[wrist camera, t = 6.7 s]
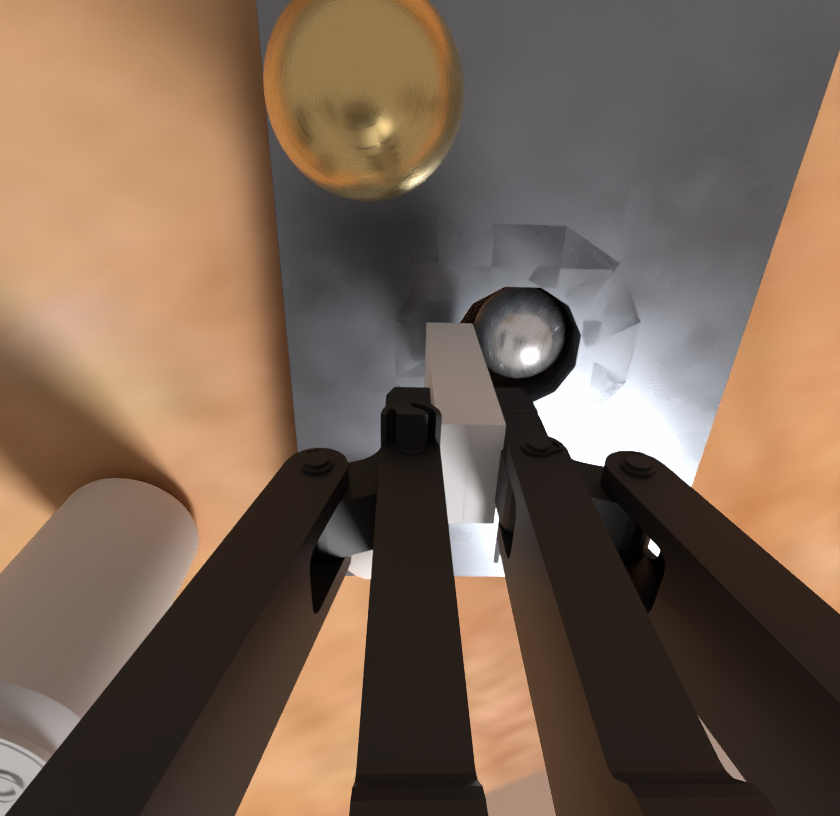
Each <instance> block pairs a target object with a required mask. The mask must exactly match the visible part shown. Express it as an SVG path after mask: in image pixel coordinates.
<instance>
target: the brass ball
mask: <svg viewBox="0 0 840 816" xmlns="http://www.w3.org/2000/svg"><path fill="white" fill-rule="evenodd" d="M263 85H264V96H265V103H266V108H267V112H268V116H269V119H270V122H271V125H272V128H273V130H274V133H275V135H276V137H277V139H278V141H279V143H280V145H281V147H282V148H283V150H284V151H285V153H286V154H287V156H288V157H289V159H290V160H291V161H292V162H293V163H294V165H295V166H296V167H297V168H298V169H299V170H300V171H301V172H302V173H303V174H304V175H305V176H306V177H307V178H308V179H309V180H311V181H312V182H314V183H315V184H316V185H318V186H319V187H321V188H323V189H324V190H326V191H328V192H330V193H332V194H335V195H337V196H340V197H343V198H347V199H351V200H356V201H366V202H368V201H382V200H387V199H392V198H395V197H398V196H401V195H403V194H405V193H407V192H409V191H411V190H413V189H414V188H416V187H417V186H419V185H420V184H422V183H423V182H424V181H425V180H427V179H428V178H429V177H430V176H431V175H432V174H433V173H434V172H435V171H436V170H437V168H438V167H439V166H440V165H441V163H442V162H443V160H444V159H445V157H446V156H447V154H448V153H449V151H450V149H451V147H452V145H453V143H454V141H455V138H456V135H457V132H458V130H459V126H460V122H461V118H462V113H463V104H464V77H463V68H462V64H461V60H460V55H459V52H458V49H457V46H456V43H455V40H454V38H453V36H452V34H451V31H450V29H449V27H448V25H447V24H446V22H445V21H444V19H443V17H442V16H441V14H440V13H439V11H438V10H437V9H436V8H435V7H434V5H433V4H432V3H431V2H430V1H429V0H291V1H290V2H289V3H288V4H287V5H286V7H285V8H284V10H283V11H282V13H281V14H280V16H279V18H278V20H277V22H276V24H275V26H274V28H273V30H272V33H271V36H270V39H269V42H268V45H267V50H266V55H265V60H264V71H263Z"/></svg>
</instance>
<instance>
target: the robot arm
mask: <svg viewBox="0 0 840 816" xmlns="http://www.w3.org/2000/svg"><path fill="white" fill-rule="evenodd" d="M495 509H497V513H498V517H499V522H498V530H497V537H496V545H495V553H494V563H498V561H499V556H500V555H501V560H502V565H503V569H504V574H505V579H506V583H507V588H508V593H509V597H510V602H511V607H512V612H513V616H514V621H515V626H516V630H517V635H518V640H519V644H520V649H521V654H522V658H523V663H524V668H525V672H526V677H527V682H528V686H529V691H530V696H531V700H532V705H533V710H534V715H535V719H536V724H537V729H538V733H539V738H540V743H541V747H542V752H543V757H544V761H545V766H546V771H547V775H548V780H549V785H550V789H551V794H552V799H553V803H554V808H555V813H556V816H840V614H839V613H838V612H836V611H835V610H834V609H833V608H832V607H831V606H829V605H828V604H827V603H826V602H825V601H824V600H822V599H821V598H820V597H819V596H818V595H817V594H815V593H814V592H813V591H812V590H811V589H810V588H808V587H807V586H806V585H805V584H804V583H803V582H801V581H800V580H799V579H798V578H797V577H796V576H794V575H793V574H792V573H791V572H790V571H789V570H787V569H786V568H785V567H784V566H783V565H782V564H780V563H779V562H778V561H777V560H776V559H774V558H773V557H772V556H771V555H770V554H769V553H767V552H766V551H765V550H764V549H763V548H762V547H760V546H759V545H758V544H757V543H756V542H755V541H753V540H752V539H751V538H750V537H749V536H748V535H746V534H745V533H744V532H743V531H742V530H741V529H739V528H738V527H737V526H736V525H735V524H734V523H732V522H731V521H730V520H729V519H728V518H727V517H725V516H724V515H723V514H722V513H721V512H720V511H718V510H717V509H716V508H715V507H714V506H713V505H711V504H710V503H709V502H708V501H707V500H706V499H704V498H703V497H702V496H701V495H700V494H699V493H697V492H696V491H695V490H694V489H693V488H692V487H690V486H689V485H688V484H687V483H686V482H685V481H683V480H682V479H681V478H680V477H679V476H678V475H676V474H675V473H674V472H673V471H672V470H671V469H669V468H668V467H667V466H666V465H665V464H663V463H662V462H660V461H659V460H657V459H656V458H654V457H652V456H649V455H646V454H645V453H642V452H638V451H637V452H636V451H617V452H613V453H610V454H609V455H608V456H607V457H606V459H605V463H604V466H600V465H595V464H590V463H585V462H581V461H577V460H574V459H572V458H571V456H570V454H569V452H568V449H567V448H566V447H565V446H564V444H563V443H562V442H560V441H558V440H556V439H555V438H553V437H550V436H548V434H547V431H546V429H545V427H544V425H543V423H542V420H541V418H540V416H538V412H537V409H536V408H535V405H534V403H533V401H532V398H531V396H529V395H528V394H527V393H526V392H524V391H523V390H522V389H520V388H498V387H493V384H492V381H491V378H490V375H489V372H488V369H487V366H486V363H485V360H484V357H483V354H482V351H481V348H480V345H479V341H478V338H477V335H476V332H475V329H474V326H473V323H429V322H426V348H425V373H424V387H394V388H393V389H392V390H391V391H390V392H389V393H388V394H387V395H386V404H385V408H383V410H382V412H381V448H380V449H379V450H378V452H376V453H375V454H373V455H372V456H370V457H367V458H365V459H362V460H358V461H353V462H348V461H347V459H346V457H345V455H343V454H342V453H340V452H339V451H336V450H333V449H329V448H312V449H311V448H310V449H306V450H303V451H300V452H298V453H295V454H294V455H292V456H291V457H290V458H289V459H288V460H287V461H286V462H285V463H284V464H283V466H282V467H281V468H280V469H279V471H278V472H277V473H276V474H275V476H274V477H273V478H272V480H271V481H270V482H269V483H268V485H267V486H266V487H265V488H264V490H263V491H262V492H261V493H260V495H259V496H258V497H257V498H256V500H255V501H254V502H253V503H252V505H251V506H250V507H249V508H248V510H247V511H246V512H245V514H244V515H243V516H242V517H241V519H240V520H239V521H238V522H237V524H236V525H235V526H234V527H233V529H232V530H231V531H230V532H229V534H228V535H227V536H226V537H225V539H224V540H223V541H222V542H221V544H220V545H219V546H218V547H217V549H216V550H215V551H214V553H213V554H212V555H211V556H210V558H209V559H208V560H207V561H206V563H205V564H204V565H203V566H202V568H201V569H200V570H199V571H198V573H197V574H196V575H195V576H194V578H193V579H192V580H191V581H190V583H189V584H188V585H187V586H186V588H185V589H184V590H183V592H182V593H181V594H180V595H179V597H178V598H177V599H176V600H175V602H174V603H173V604H172V605H171V607H170V608H169V609H168V610H167V612H166V613H165V614H164V615H163V617H162V618H161V619H160V620H159V622H158V623H157V624H156V625H155V627H154V628H153V629H152V631H151V632H150V633H149V634H148V636H147V637H146V638H145V639H144V641H143V642H142V643H141V644H140V646H139V647H138V648H137V649H136V651H135V652H134V653H133V654H132V656H131V657H130V658H129V659H128V661H127V662H126V663H125V664H124V666H123V667H122V668H121V670H120V671H119V672H118V673H117V675H116V676H115V677H114V678H113V680H112V681H111V682H110V683H109V685H108V686H107V687H106V688H105V690H104V691H103V692H102V693H101V695H100V696H99V697H98V698H97V700H96V701H95V702H94V704H93V705H92V706H91V707H90V709H89V710H88V711H87V712H86V714H85V715H84V716H83V717H82V719H81V720H80V721H79V722H78V724H77V725H76V726H75V727H74V729H73V730H72V731H71V732H70V734H69V735H68V736H67V737H66V739H65V740H64V741H63V743H62V744H61V745H60V746H59V748H58V749H57V750H56V751H55V753H54V754H53V755H52V756H51V758H50V759H49V760H48V761H47V763H46V764H45V765H44V766H43V768H42V769H41V770H40V771H39V773H38V774H37V775H36V776H35V778H34V779H33V780H32V782H31V783H30V784H29V785H28V787H27V788H26V789H25V790H24V792H23V793H22V794H21V795H20V797H19V798H18V799H17V800H16V802H15V803H14V804H13V805H12V807H11V808H10V809H9V810H8V812H7V813H6V814H5V815H4V816H235V814H236V812H237V810H238V808H239V805H240V803H241V801H242V799H243V797H244V794H245V792H246V790H247V788H248V786H249V784H250V781H251V779H252V777H253V775H254V773H255V771H256V768H257V766H258V764H259V762H260V760H261V757H262V755H263V753H264V751H265V749H266V747H267V744H268V742H269V740H270V738H271V736H272V733H273V731H274V729H275V727H276V725H277V723H278V720H279V718H280V716H281V714H282V712H283V710H284V707H285V705H286V703H287V701H288V699H289V696H290V694H291V692H292V690H293V688H294V686H295V683H296V681H297V679H298V677H299V675H300V673H301V670H302V668H303V666H304V664H305V662H306V659H307V657H308V655H309V653H310V651H311V649H312V646H313V644H314V642H315V640H316V638H317V636H318V633H319V631H320V629H321V627H322V625H323V622H324V620H325V618H326V616H327V614H328V612H329V609H330V607H331V605H332V603H333V601H334V599H335V596H336V594H337V592H338V590H339V588H340V585H341V583H342V581H343V579H344V577H345V575H346V572H347V570H348V568H349V566H350V563H351V558H352V555H354V554H358V553H362V552H366V551H370V550H373V556H372V569H371V582H370V596H369V609H368V622H367V636H366V649H365V662H364V676H363V689H362V702H361V716H360V729H359V742H358V756H357V768H356V777H355V783H354V785H353V788H352V795H351V802H350V813H349V816H488V812H487V805H486V798H485V795H484V791H483V787H482V785H481V784H480V783H479V781H478V780H477V776H476V770H475V763H474V754H473V745H472V736H471V727H470V718H469V708H468V699H467V690H466V681H465V672H464V663H463V653H462V644H461V635H460V626H459V617H458V607H457V598H456V589H455V580H454V571H453V561H452V552H451V543H450V534H449V525H448V523H489V524H494V517H495ZM650 540H652V541H653V542H654V543H655V544H656V545H657V547H658V548H659V550H660V552H659V555H658V556H656V555H655V554H654V553H653V552H652V551H651V550H650V549H649V548H648V546H649V543H650ZM698 716H699V718H700V719H701V720H702V721H703V723H704V724H705V726H706V727H707V728H708V730H709V731H710V733H711V734H712V735H713V737H714V738H715V739H716V741H717V742H718V743H719V745H720V746H721V747H722V749H723V750H724V752H725V753H726V754H727V756H728V757H729V758H730V760H731V761H732V762H733V764H734V765H735V767H736V768H737V769H738V771H739V772H740V773H741V775H742V776H743V778H744V779H745V780H746V782H744V781H740V780H737V779H734V778H733V777H732V776H730V775H729V773H727V772H726V770H725V769H724V767H723V765H722V764H721V762H720V760H719V759H718V757H717V754H716V752H715V750H714V748H713V746H712V744H711V742H710V740H709V738H708V736H707V734H706V732H705V730H704V728H703V726H702V724H701V722H700V720H699V718H698Z"/></svg>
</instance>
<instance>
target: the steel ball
mask: <svg viewBox="0 0 840 816" xmlns="http://www.w3.org/2000/svg"><path fill="white" fill-rule="evenodd" d="M474 329H475V332H476V335H477V338H478V341H479V345H480V348H481V351H482V354H483V357H484V360H485V363H486V365H487V366H488V367H489V368H490V369H491V370H493V371H494V372H496V373H498V374H500V375H503V376H506V377H510V378H527V377H531V376H534V375H537V374H539V373H541V372H543V371H544V370H546V369H547V368H549V367H550V366H551V365H552V364H553V363H554V362H555V361H556V359H557V358H558V356H559V355H560V353H561V351H562V349H563V346H564V343H565V338H566V324H565V319H564V316H563V313H562V311H561V309H560V307H559V306H558V305H557V303H556V302H555V301H554V300H553V299H552V298H551V297H550V296H549V295H547V294H546V293H544V292H543V291H541V290H538V289H535V288H532V287H509V288H506V289H503V290H501V291H499V292H497V293H495V294H494V295H492V296H491V297H490V298H489V299H488V300H487V301H486V302H485V303H484V304H483V305H482V307H481V308H480V310H479V312H478V314H477V316H476V319H475V322H474Z"/></svg>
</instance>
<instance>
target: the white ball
mask: <svg viewBox="0 0 840 816" xmlns="http://www.w3.org/2000/svg"><path fill="white" fill-rule="evenodd" d="M372 556H373V550H370V551H366V552H362V553H358V554H354V555H352V558H351V563H350V566H349V568H348V571H350V572H351V573H353V574H354V575H356V576H358V577H361V578H364V579H371V569H372Z"/></svg>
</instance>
